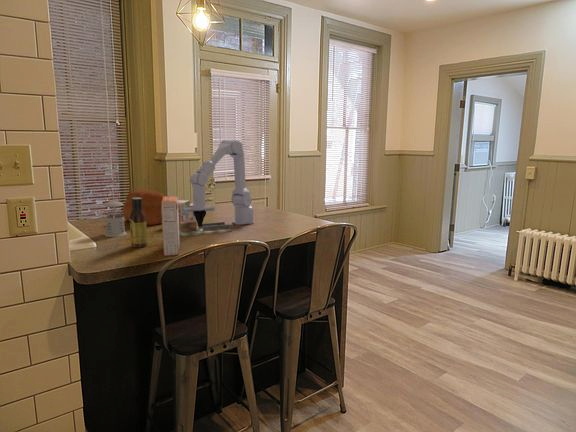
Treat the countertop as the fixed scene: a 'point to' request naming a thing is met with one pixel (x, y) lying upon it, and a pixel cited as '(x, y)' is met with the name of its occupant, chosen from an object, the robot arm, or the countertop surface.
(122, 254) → the countertop surface
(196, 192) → the robot arm
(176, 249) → the cracker box
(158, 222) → the bread
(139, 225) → the sauce bottle
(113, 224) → the french press
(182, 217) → the stack of blocks
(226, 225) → the channel rails
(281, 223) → the countertop surface
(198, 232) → the chute board
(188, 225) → the walnut block
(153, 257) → the countertop surface
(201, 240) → the countertop surface
